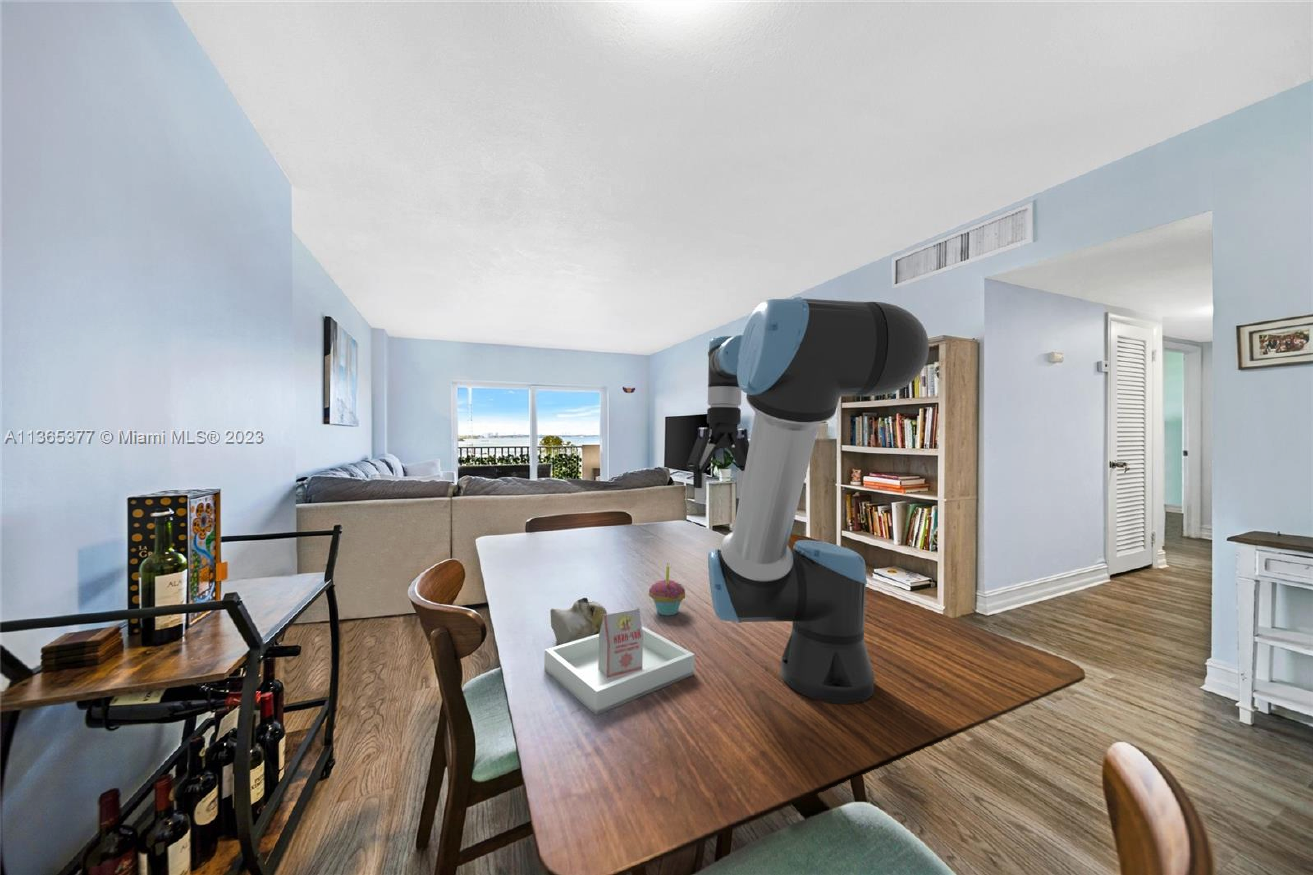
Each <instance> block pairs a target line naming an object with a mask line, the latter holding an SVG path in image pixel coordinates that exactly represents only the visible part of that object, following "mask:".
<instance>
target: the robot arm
mask: <svg viewBox="0 0 1313 875" xmlns="http://www.w3.org/2000/svg"><path fill="white" fill-rule="evenodd" d="M927 334H928V333H927V331H926V330H925V328H924V326H923V324H922V323H921V321H920V320H919V319H918V318H917V317H916V316H914V315H913V314H912V313H911V312H910V311H908V310H906V309H905V308H902V307H900V306H897V305H895V304H891V303H886V302H883V301H882V302H881V301H850V300H834V299H833V300H832V299H818V298H817V299H816V298H802V297H800V296H798V297H792V298H773V299H772V298H771V299H766V300H765V301H763V302H761V303H760V304H758V306H757V307H756V308H755V309H754V311H752V313H751V314H750V316H749V319H748V320H747V322H746V324H745V327H744V330H743V332H742V334H739V335H737V334H736V335H735V336H733V335H732V336H731V335H726V336H725V335H723V336H717V337H713V338H711V339H710V341H709V344H708V352H707V356H708V368H707V370H708V371H707V372H708V375H707V376H708V377H707V378H708V379H707V380H708V381H707V405H708V406H710V407H707V409H706V412H707V413H706V423H707V424H708V425H709V427H699V428H697V436H696V437H697V438H696V440H695V443H694V446H693V448H692V450H691V453H690V455H689V457H688V460H687V463H686V466H685V467H686V468H685V469H686V470H688V471H689V472H690V473H692V474H693V477H692V478H693V482H692V483H693V484H692V486H693V488H694V503H695V504H701V505H706V504H707V473H705V471H706V469H707V467H708V465H709V464H710V462H711V461H712V459H713V458H714V456H715V455H716V453H717V451H718V450H720V449H727V450H728V451H729V453H730V454H731V456H732V458H733V460H734V462H735V463H736V466H737V467H738V469H739V470H736V489H735V490H736V491H735V492H736V493H735V494H736V496H735V498H736V499H739V500H738V503H737V504H738V505H737V510H736V517H735V522H734V527H733V531H731V532H729V533H727V535H726V536H724V538H723V540H722V542H721V546H720V548H715V549H711V550H709V552H708V554H707V569H708V580H709V586H710V587H709V588H710V589H709V590H710V596H711V602H712V607H713V611H714V613H715V616H716V617H717V618H718V619H719V620H720V621H722V622H723V621H724V622H735V623H738V624H740V623H741V624H742V623H766V622H767V623H768V622H769V623H770V622H772V623H773V622H775V623H777V622H779V623H780V622H791V623H792V626H791V627H792V628H791V632H790V635H789V638H788V640H787V643H786V646H785V648H784V651H783V654H782V657H781V660H780V675H781V678H782V680H783V681H784V682H785V684H787V685H788V686H789V687H790V688H791V689H792V690H794V691H795V692H797V693H799V694H801V695H803V696H806V697H808V698H811V699H813V700H817V701H822V702H826V703H832V704H845V705H846V704H847V705H849V704H856V703H861V702H864V701H866V700H868V699H870V698H871V697H872V696H873V694H874V692H875V674H874V671H873V668H872V667H873V666H872V664H871V661H870V657H869V654H868V650H867V648H866V644H865V620H866V619H865V617H866V591H867V590H866V588H867V584H868V581H867V570H866V562H865V559H864V557H863V556H862V555H861V554H859V553H858V552H856V551H855V550H852V549H849V548H848V547H844V546H841V545H838V544H833V543H829V542H823V541H818V540H811V539H801V540H799V539H798V540H797V541H795V542H794V544H793V550H791V548H790V547H789V545H788V544H789V541H790V538H791V533H792V530H793V526H794V521H795V518H796V515H797V510H798V507H799V506H798V505H799V503H800V499H801V496H802V492H803V489H804V488H803V487H804V483H805V479H806V477H807V472H808V469H809V464H810V461H811V458H812V454H813V450H814V446H815V442H816V438H817V435H818V431H819V428H820V425H821V424H824V423H825V422H827V421H830V420H831V419H832V418H833V417H834V416H835V414H836V411H837V407H838V404H839V401H840V399H841V397H877V396H883V395H886V394H887V395H888V394H892V393H894V392H896V391H899V390H902V389H903V388H905V387H907V386H908V385H909V384H911V383H913V381H915V380H916V378H917V377H918V376H920V374H921V373H922V371H923V370H924V368H925V367H926V364H927V361H928V358H929V353H930V352H929V351H930V342H929V341H930V340H929V338H928V335H927ZM742 392H744V393H746V397H745V400H746V402H747V404H748V405H749V406H750V408H751V409H752V410H753V411H754V416H753V421H752V422H753V423H752V427H751V433H750V438H749V437H748V436H749V435H748V429H746V428H738V425H740V424H741V416H742V412H741V411H742V409H741V408H740V406H741V405H742ZM748 438H749V439H748Z"/></svg>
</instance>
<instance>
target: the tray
mask: <svg viewBox="0 0 1313 875" xmlns="http://www.w3.org/2000/svg"><path fill="white" fill-rule="evenodd" d="M641 626H642V632H643V661H642V669H639V670H635V671H631V672H627V673H623V674H619V675H615V676H611V677H606V676H605V675H604V674H603V673H602V672H601V670H600V669H599V668H598V658H599V634H596V635H593V636H589V637H586V638H583V639H579V640H573V641H571V642H569V643H565V644H559V645H556V646H552V647H549V648H545V649H544V669H543V670H545V671H546V673H548V674H549V675H550V676H551V677H552V678H554V679H555V680H556V681H557V682H558V683H559V684H560V685H561V686H563V688H565V689H566V690H567V691H568V692H569V693H571V695H573V696H574V697H575V699H577V700H578V701H579V702H581V704H583V705H584V706H585V707H586V708H588V710H589V711H591V712H592V713H593V714H594V715H595V716H598V715H600V714H603V713H605V712H607V711H610V710H613V709H615V708H617V707H620V706H621V705H624V704H626V703H630V702H632V701H634V700H636V699H639V698H641V697H643V696H646V695H648V694H650V693H654V692H655V691H657V690H660V689H662V688H665V687H667V686H670V685H672V684H675V683H678V682H680V681H682V680H684V679H686V678H688V677H691V676H693V675H695V661H696V660H695V658H696V657H695V656H696V655H695V653H694V652H691V651H689V650H687V649H686V648H684V647H682V646H680V645H678V644H676V643H674V642H673V641H671V640H669V639H667V638H665V637H663V636H662V635H660V634H658V633H656V632H654V631H652V630H650V629H649V628H647V627H645V626H643V625H641Z"/></svg>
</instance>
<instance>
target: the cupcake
mask: <svg viewBox="0 0 1313 875" xmlns="http://www.w3.org/2000/svg"><path fill="white" fill-rule="evenodd" d="M665 569H666V570H665V571H666V572H665V579H663V580H659V581H657V582H655V583H654V584H652V585H651V586H650V588H649V589H648V590H649V593H648V596H649V597H650V598H651V599H653V602H654V605H655V607H656V612H657V613H658V614H659V615H662V616H674V615H676V614H677V613H678V611H679V610H680V605H681V602H682V600H684V599H685V598H686V589H685V587H684V586H683V585H682V584H681V583H678V582H676V581H674V580H671V579H670V565H669V563H668V562H667V565H666V568H665Z"/></svg>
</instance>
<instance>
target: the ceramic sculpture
mask: <svg viewBox="0 0 1313 875" xmlns="http://www.w3.org/2000/svg"><path fill="white" fill-rule="evenodd" d="M603 614H608V612H607V609H606V608H605V607H604V606H603V604H601V603H599V602H597V601H593V600H592V601H589V599H588V598H587V597H582V598H580V599H577V601H574V603H573V605H572V607H570V608H569V609H559V608H551V609H550V626H551V629H552V631H553V633H554V637H555V639H556V642H557V643H558V644H559V645H562V644H565V643H569V642H572V641H576V640H579V639H583V638H586V637H589V636H593V635H596V634H599V632H600V629H601V625H602V620H603Z"/></svg>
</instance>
